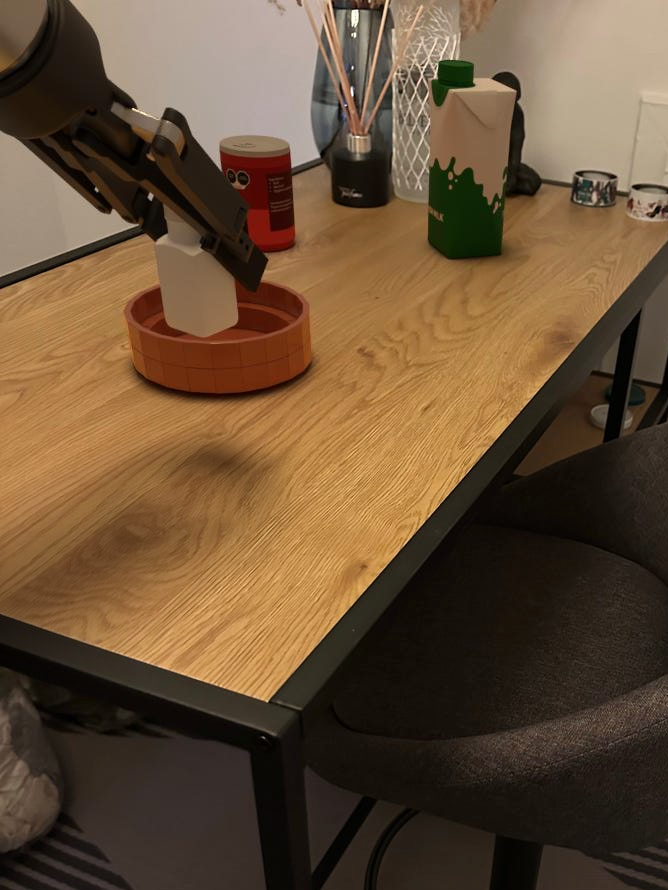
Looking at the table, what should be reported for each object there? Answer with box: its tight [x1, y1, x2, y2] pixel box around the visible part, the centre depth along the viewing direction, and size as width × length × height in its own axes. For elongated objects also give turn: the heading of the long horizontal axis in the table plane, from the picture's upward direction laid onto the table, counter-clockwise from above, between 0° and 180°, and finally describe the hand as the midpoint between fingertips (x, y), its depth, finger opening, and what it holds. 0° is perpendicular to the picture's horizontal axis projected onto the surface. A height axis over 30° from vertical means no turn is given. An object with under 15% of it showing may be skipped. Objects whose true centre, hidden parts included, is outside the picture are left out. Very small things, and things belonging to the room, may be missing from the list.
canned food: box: [218, 134, 296, 253], centre depth 111 cm, size 8×8×11 cm
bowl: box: [122, 278, 313, 394], centre depth 86 cm, size 16×16×5 cm
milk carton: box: [427, 59, 518, 260], centre depth 111 cm, size 9×9×20 cm
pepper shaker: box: [153, 204, 238, 337], centre depth 66 cm, size 4×4×10 cm
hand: (230, 268), depth 69 cm, fingers closed on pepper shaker, 4 cm apart
